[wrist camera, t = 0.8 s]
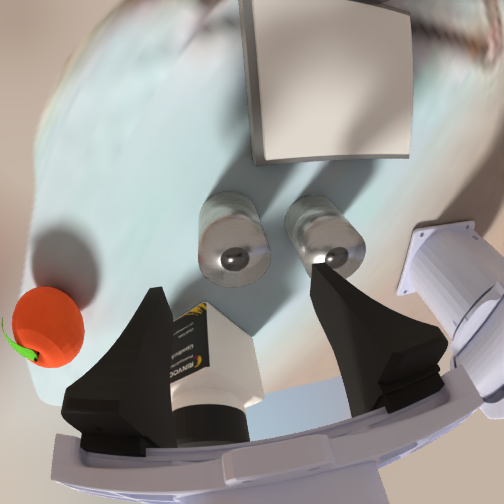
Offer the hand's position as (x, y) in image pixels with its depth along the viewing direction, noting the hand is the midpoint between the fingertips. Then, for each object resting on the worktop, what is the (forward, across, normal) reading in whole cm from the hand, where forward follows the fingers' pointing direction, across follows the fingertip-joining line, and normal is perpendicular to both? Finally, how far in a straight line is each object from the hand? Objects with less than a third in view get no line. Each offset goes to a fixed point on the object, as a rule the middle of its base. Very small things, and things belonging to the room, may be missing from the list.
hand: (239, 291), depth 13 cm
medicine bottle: (+8, +4, +12) cm, 15 cm away
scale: (+8, -8, -11) cm, 15 cm away
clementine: (+8, +17, +5) cm, 19 cm away
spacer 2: (+8, -6, +1) cm, 10 cm away
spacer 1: (+8, 0, 0) cm, 8 cm away
